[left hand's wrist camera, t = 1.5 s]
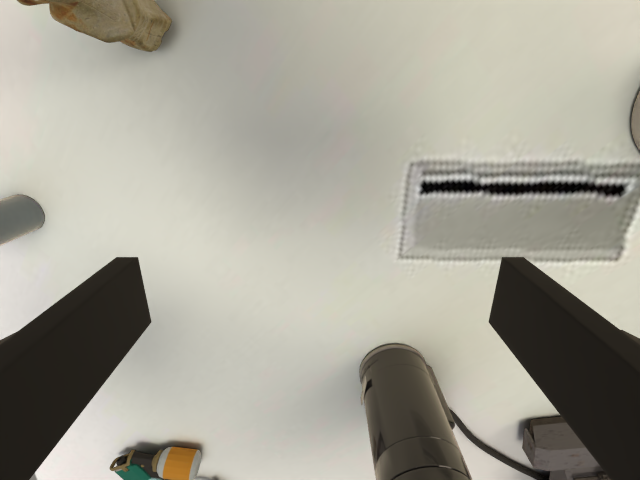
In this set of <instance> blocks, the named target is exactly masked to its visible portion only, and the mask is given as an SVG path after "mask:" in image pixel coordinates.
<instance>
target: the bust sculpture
mask: <svg viewBox="0 0 640 480" xmlns="http://www.w3.org/2000/svg"><path fill="white" fill-rule="evenodd" d="M631 126H632V134H633V138H634V141H635V143H636V145H637V147H638V149H639V150H640V92H639V94H638V96H637V98H636V101H635V104H634V108H633V112H632V121H631Z"/></svg>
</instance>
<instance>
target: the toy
mask: <svg viewBox="0 0 640 480" xmlns="http://www.w3.org/2000/svg"><path fill="white" fill-rule="evenodd" d="M522 448H523V450H524V452H525V453H526V455H527V457H528V459H529V461H530V462H531V464H532V466H533V468H537V469H541V470H545V471H550V477H549V480H611V479H610V478H609V477H608V475H607V474H606V473H605V472H604V470H603V469H602V468H601V466H600V465H599V464H598V463H597V461H596V460H595V459H594V457H593V456H592V455H591V453H590V452H589V451H588V450H587V448H586V447H585V446H584V444H583V443H582V442H581V441H580V439H579V438H578V437H577V435H576V434H575V433H574V432H573V430H572V429H571V428H570V426H569V425H568V424H567V423H566V421H565V420H564V419H563V417H562V416H560V417H551V418H541V419H532V420H531V421H530V430H529V432H528V430H527V428H525V429H524V436H523V446H522Z"/></svg>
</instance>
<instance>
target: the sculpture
mask: <svg viewBox="0 0 640 480" xmlns="http://www.w3.org/2000/svg"><path fill="white" fill-rule="evenodd" d="M17 1H18V2H19V3H21V4H23V5H27V6H31V5H37V4H45V3H50V4H49V7H50V14H51V16H52V17H53V19H55V20H56V21H58V22H60V23H62V24H64V25H66V26H68V27H70V28H72V29H74V30H76V31H78V32H81V33H84V34H87V35H89V36H92V37H94V38H97V39H99V40H102V41H104V42H107V43H111V42H118V41H120V42H122V43H124V44H126V45H128V46H131V47H134V48H137V49H140V50H144V51H149V52H151V51H155V50H157V49H158V47H159V46H160V44H161V42H162V40H161V38H162V37H163V35H164V32H166V31H168V29H169V27H170V24H171V22H172V20H171V18H170V17H169V16H168V15H167V14H166V13H164V12H163V11H162V10H161V9H160V8H159V6H158V5H157V4H156V3H155V2H154V0H17Z"/></svg>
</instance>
